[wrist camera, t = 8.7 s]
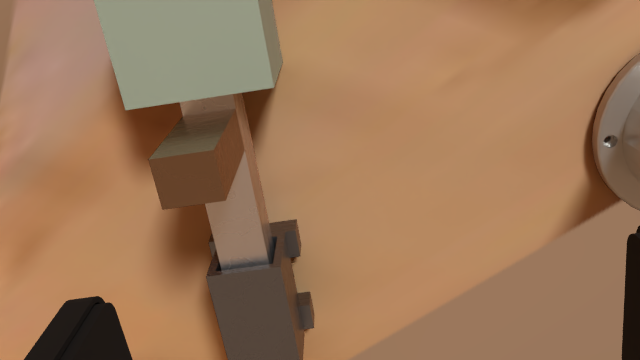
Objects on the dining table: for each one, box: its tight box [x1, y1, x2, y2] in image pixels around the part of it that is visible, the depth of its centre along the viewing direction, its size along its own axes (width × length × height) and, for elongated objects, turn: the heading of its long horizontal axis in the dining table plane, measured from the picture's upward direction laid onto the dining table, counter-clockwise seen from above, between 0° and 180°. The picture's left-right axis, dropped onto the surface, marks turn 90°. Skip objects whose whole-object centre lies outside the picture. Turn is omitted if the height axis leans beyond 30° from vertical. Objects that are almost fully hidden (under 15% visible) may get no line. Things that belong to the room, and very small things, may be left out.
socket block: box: [94, 0, 283, 110], centre depth 33 cm, size 8×6×7 cm
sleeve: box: [206, 220, 314, 360], centre depth 40 cm, size 6×8×6 cm
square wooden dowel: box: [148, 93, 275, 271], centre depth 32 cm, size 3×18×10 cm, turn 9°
